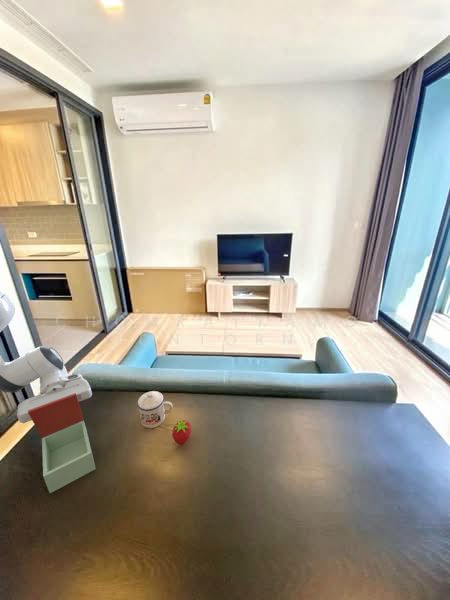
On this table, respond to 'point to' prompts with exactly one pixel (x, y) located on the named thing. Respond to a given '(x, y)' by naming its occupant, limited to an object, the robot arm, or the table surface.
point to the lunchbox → (66, 456)
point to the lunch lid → (56, 415)
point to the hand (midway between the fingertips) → (58, 415)
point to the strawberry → (181, 432)
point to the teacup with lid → (152, 409)
